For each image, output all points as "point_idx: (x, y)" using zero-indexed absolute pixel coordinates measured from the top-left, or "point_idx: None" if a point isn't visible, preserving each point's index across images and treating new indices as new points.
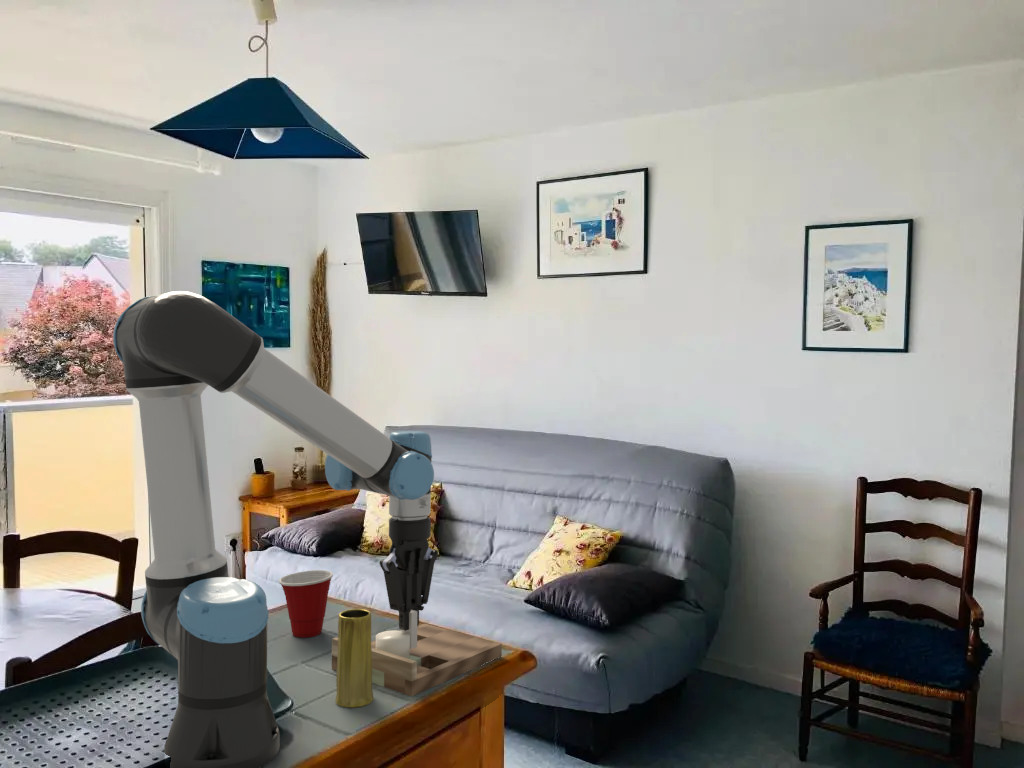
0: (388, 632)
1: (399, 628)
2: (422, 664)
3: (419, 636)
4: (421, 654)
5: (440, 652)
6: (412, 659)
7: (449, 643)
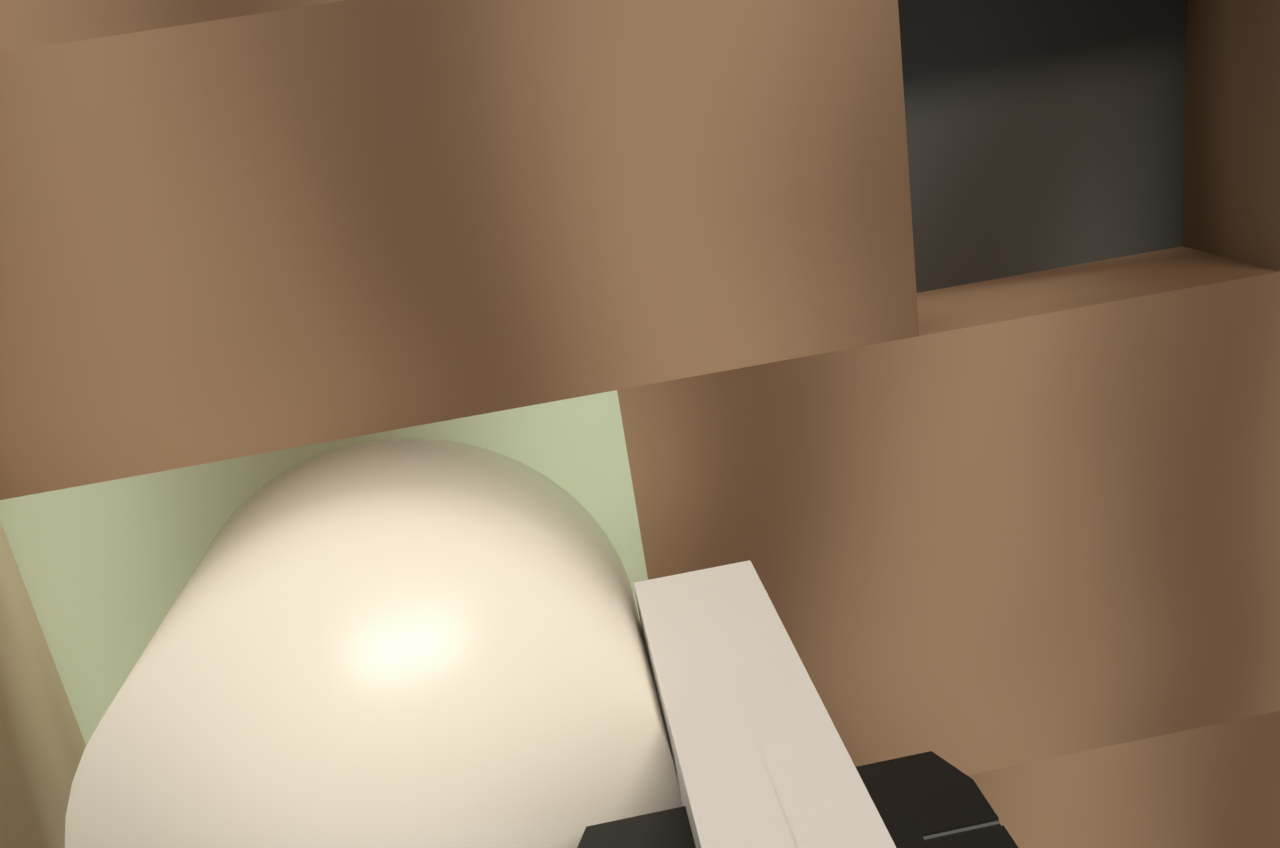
0: (424, 674)
1: (578, 845)
2: None
3: (1276, 109)
4: None
5: None
6: None
7: (1264, 640)
